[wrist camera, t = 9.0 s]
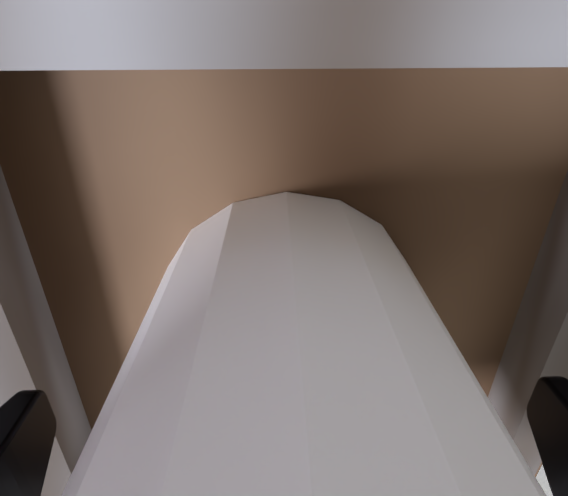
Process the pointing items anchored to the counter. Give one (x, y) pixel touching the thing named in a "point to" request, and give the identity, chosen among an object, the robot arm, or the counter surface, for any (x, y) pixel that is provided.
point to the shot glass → (296, 372)
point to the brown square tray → (278, 170)
